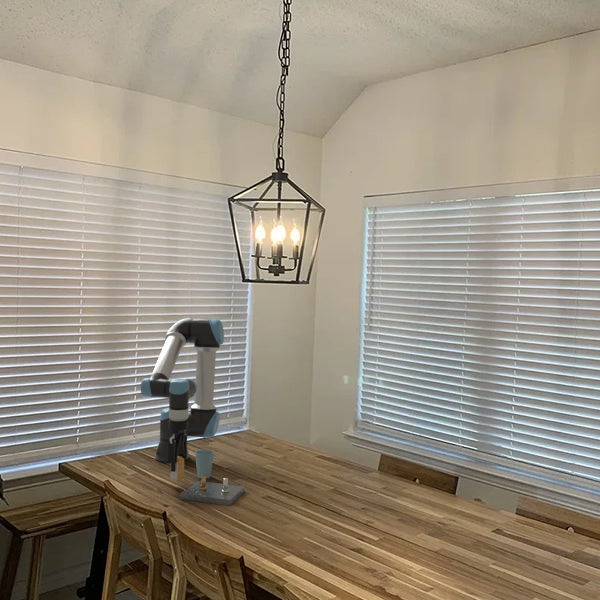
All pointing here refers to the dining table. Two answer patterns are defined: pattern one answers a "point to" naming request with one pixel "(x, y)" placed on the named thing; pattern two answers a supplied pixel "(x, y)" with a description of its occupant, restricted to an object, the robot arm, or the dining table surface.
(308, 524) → the dining table surface
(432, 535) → the dining table surface
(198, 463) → the cup
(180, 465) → the wooden jar
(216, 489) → the junction plate
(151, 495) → the dining table surface
